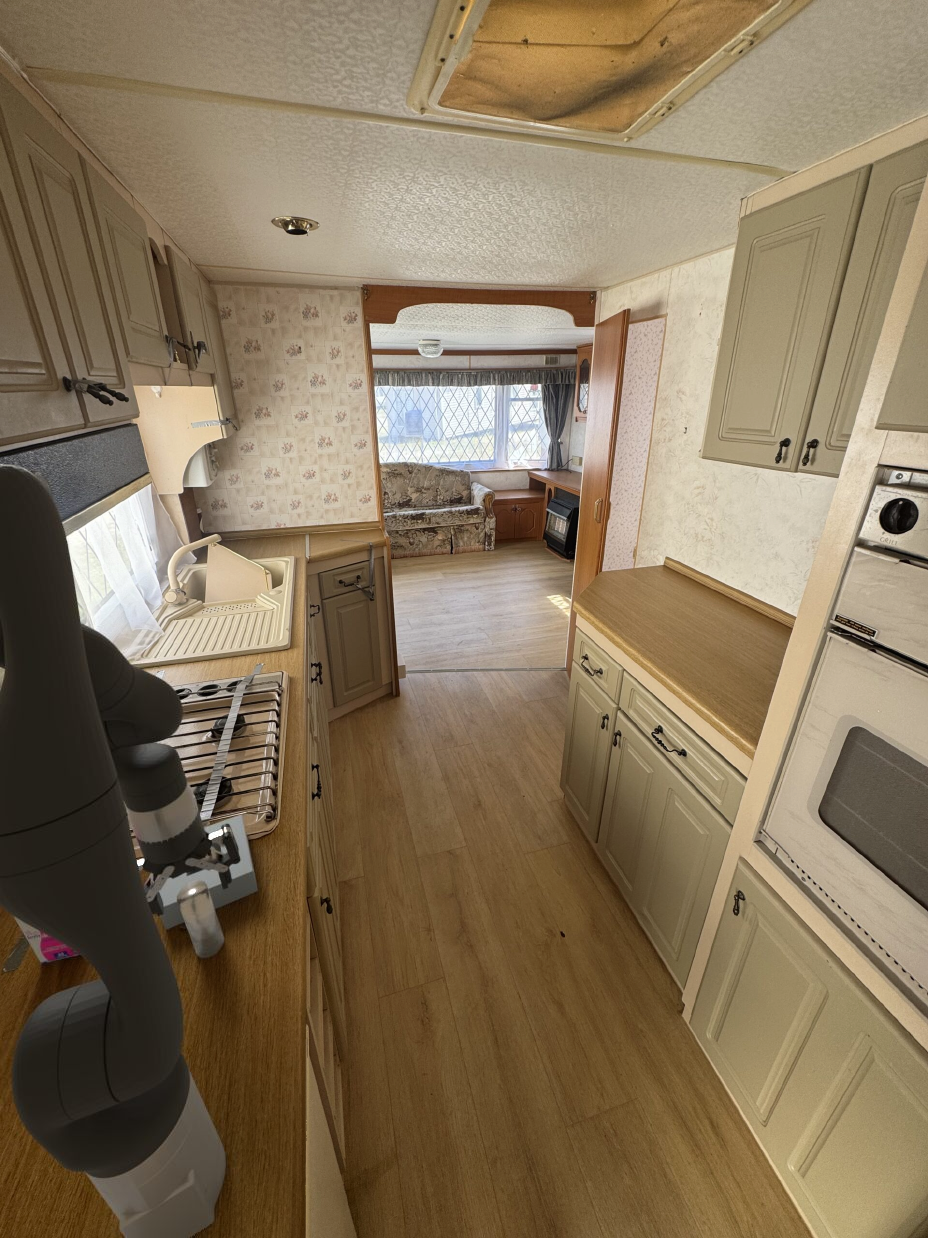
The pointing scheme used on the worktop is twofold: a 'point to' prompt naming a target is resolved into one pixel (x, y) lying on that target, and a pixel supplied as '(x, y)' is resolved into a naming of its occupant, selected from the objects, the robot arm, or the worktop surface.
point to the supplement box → (45, 944)
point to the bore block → (214, 877)
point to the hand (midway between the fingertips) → (194, 897)
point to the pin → (200, 918)
